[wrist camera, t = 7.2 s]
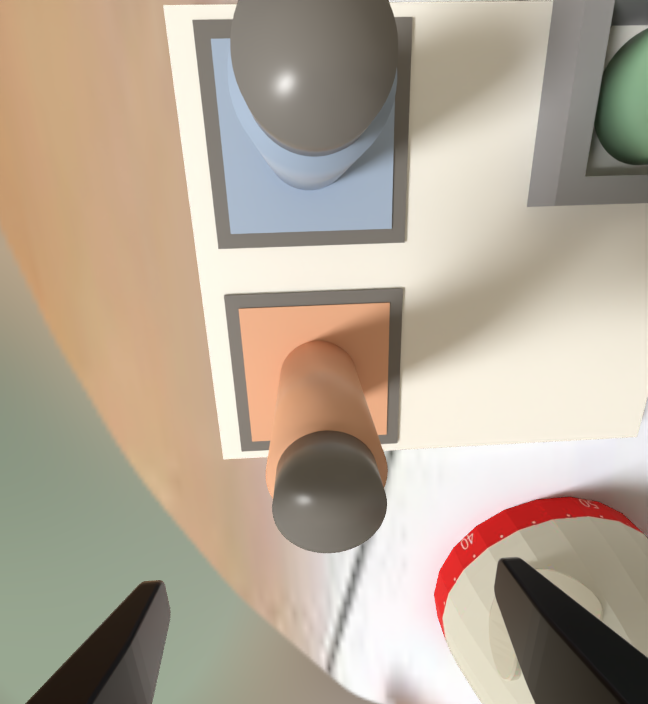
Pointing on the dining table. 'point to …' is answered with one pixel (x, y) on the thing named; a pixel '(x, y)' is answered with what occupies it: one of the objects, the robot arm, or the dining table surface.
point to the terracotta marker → (324, 453)
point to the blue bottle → (312, 82)
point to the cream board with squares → (434, 234)
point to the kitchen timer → (553, 563)
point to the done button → (625, 103)
